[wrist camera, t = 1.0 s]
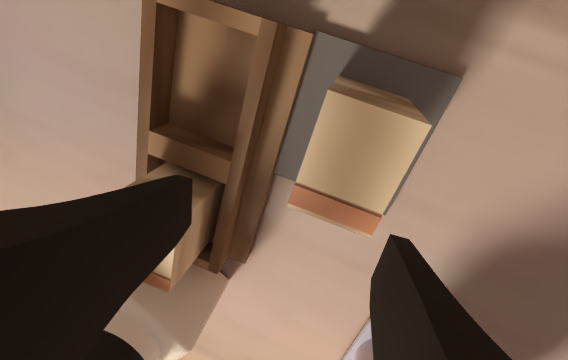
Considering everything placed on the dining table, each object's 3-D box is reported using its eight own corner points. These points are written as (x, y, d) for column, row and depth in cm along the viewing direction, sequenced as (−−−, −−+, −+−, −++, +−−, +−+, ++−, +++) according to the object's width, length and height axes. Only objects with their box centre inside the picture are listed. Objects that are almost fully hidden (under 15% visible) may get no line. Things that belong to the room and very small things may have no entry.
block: (226, 177, 20) (176, 225, 15) (213, 235, 23) (167, 294, 17) (174, 157, 20) (108, 197, 15) (168, 217, 23) (109, 269, 18)
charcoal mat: (459, 77, 15) (462, 78, 15) (384, 211, 19) (385, 215, 19) (316, 30, 16) (315, 30, 15) (274, 170, 20) (272, 172, 20)
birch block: (408, 98, 16) (432, 126, 10) (367, 182, 18) (369, 239, 13) (339, 75, 16) (327, 89, 11) (308, 160, 19) (286, 207, 13)
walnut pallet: (315, 34, 16) (306, 32, 13) (248, 255, 24) (234, 281, 21) (155, -18, 17) (116, -30, 14) (142, 212, 25) (117, 232, 22)
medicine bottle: (132, 264, 28) (-7, 397, 17) (171, 225, 25) (32, 354, 14) (187, 311, 29) (89, 465, 18) (231, 279, 26) (144, 440, 15)
